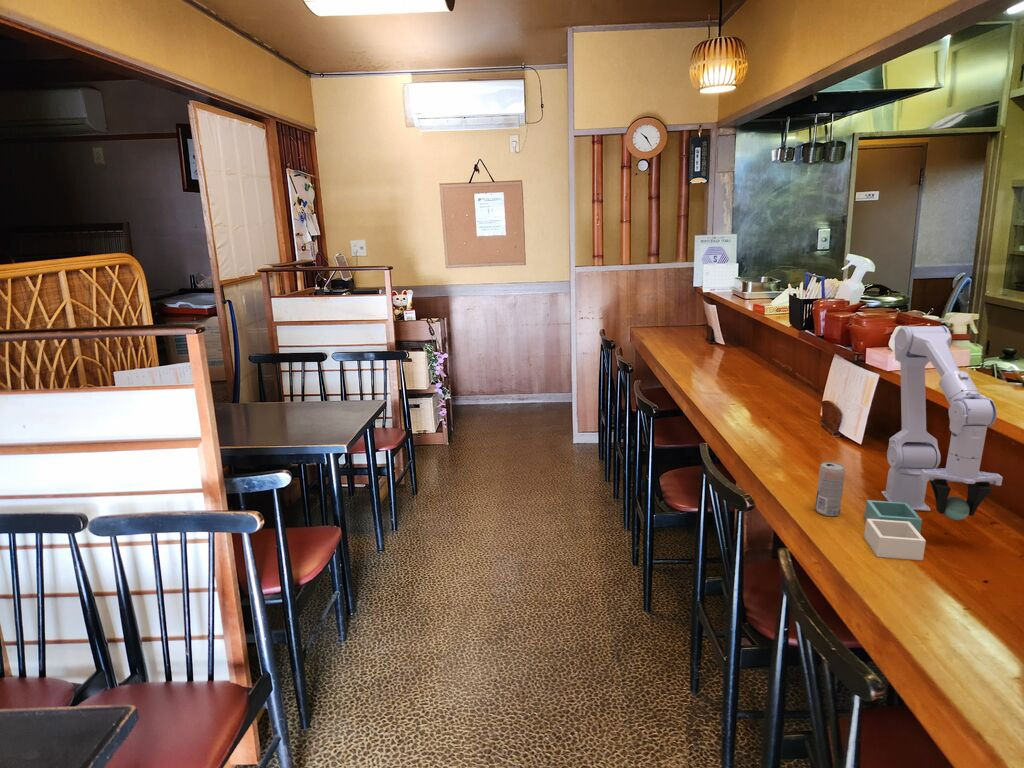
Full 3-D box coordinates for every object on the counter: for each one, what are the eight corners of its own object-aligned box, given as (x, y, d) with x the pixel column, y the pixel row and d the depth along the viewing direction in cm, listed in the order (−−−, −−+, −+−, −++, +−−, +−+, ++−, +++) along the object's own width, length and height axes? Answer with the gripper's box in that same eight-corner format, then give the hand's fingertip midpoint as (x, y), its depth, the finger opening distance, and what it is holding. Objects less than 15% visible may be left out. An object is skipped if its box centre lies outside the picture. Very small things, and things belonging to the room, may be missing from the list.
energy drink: (832, 506, 154) (837, 461, 151) (844, 516, 149) (850, 469, 146) (810, 507, 154) (815, 462, 151) (822, 517, 149) (827, 470, 146)
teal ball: (935, 512, 138) (939, 491, 137) (961, 514, 137) (964, 493, 135) (945, 523, 133) (949, 501, 132) (972, 525, 132) (976, 503, 131)
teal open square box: (864, 517, 148) (866, 500, 147) (904, 520, 146) (907, 502, 145) (876, 534, 140) (879, 516, 139) (919, 538, 138) (922, 519, 137)
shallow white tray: (864, 536, 139) (866, 518, 138) (906, 540, 137) (909, 521, 136) (877, 556, 131) (879, 537, 130) (922, 560, 129) (925, 540, 128)
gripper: (934, 458, 129) (924, 518, 132) (1014, 463, 126) (1002, 524, 129) (920, 446, 135) (911, 504, 139) (996, 450, 132) (985, 508, 136)
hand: (954, 512), depth 135 cm, fingers closed on teal ball, 5 cm apart
